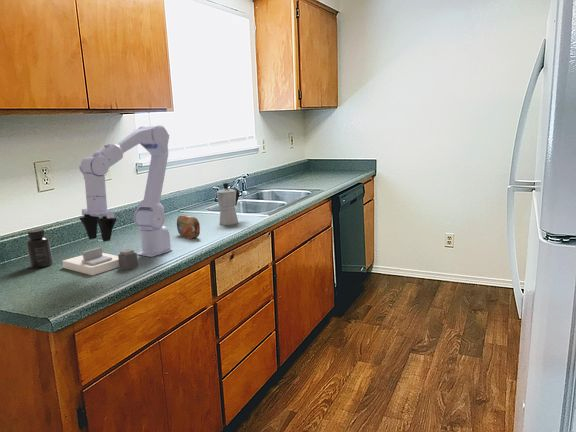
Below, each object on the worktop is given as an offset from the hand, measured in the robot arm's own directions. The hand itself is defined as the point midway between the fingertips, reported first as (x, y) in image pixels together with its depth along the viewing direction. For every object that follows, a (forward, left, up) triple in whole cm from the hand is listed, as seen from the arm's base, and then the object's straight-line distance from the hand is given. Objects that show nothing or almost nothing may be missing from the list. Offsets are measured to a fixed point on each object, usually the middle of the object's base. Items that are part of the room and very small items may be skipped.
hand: (99, 239), depth 144 cm
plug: (-6, +5, -10) cm, 12 cm away
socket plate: (-1, -7, -10) cm, 12 cm away
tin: (-43, -8, -10) cm, 45 cm away
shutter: (0, -3, -7) cm, 8 cm away
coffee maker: (-69, -10, -10) cm, 71 cm away
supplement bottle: (+7, -25, -10) cm, 28 cm away
